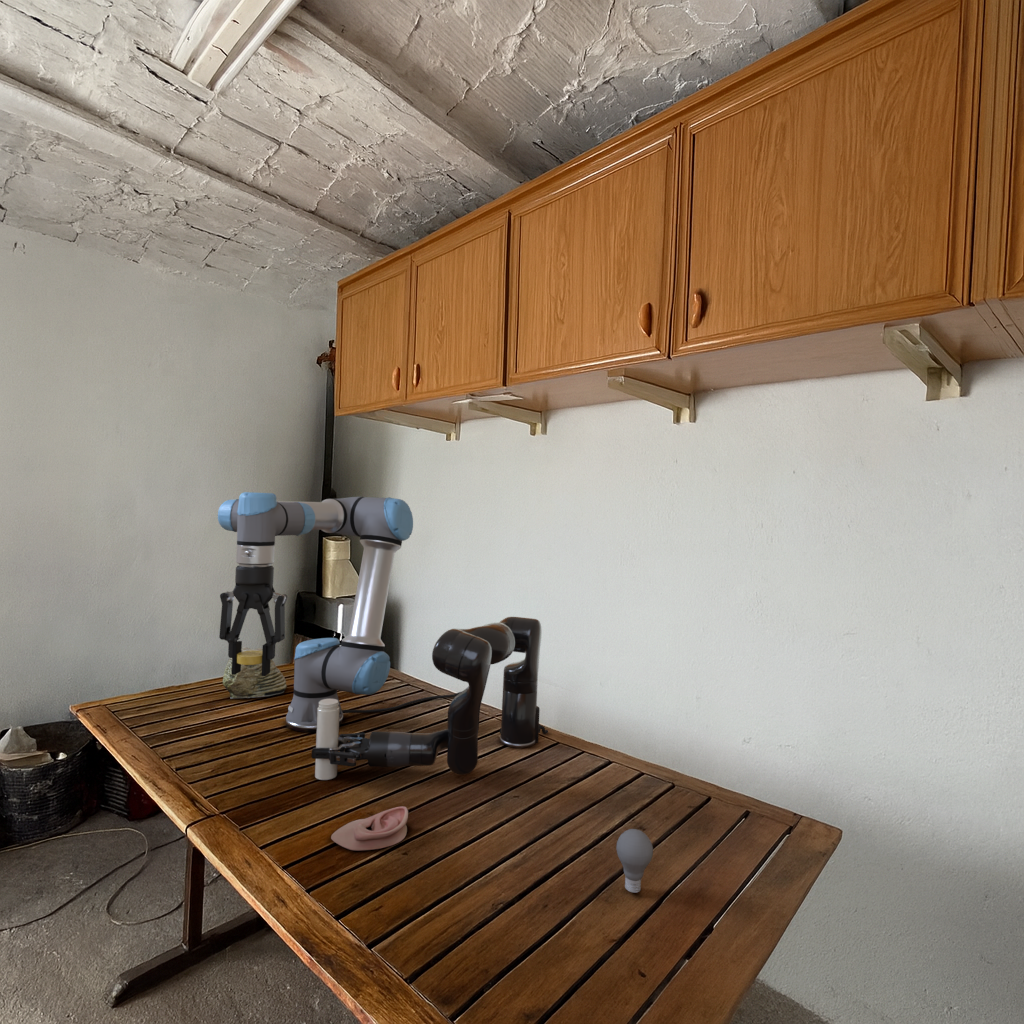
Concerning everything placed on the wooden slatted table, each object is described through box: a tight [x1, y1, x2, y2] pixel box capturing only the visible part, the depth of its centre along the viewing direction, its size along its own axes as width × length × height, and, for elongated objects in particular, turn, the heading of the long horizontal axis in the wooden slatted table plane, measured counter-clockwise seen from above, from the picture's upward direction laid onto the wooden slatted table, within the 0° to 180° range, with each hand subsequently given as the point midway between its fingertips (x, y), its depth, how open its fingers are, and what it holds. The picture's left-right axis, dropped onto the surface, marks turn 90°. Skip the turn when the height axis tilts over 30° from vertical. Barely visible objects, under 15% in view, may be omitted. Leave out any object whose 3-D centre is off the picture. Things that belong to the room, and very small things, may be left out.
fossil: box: [222, 646, 288, 699], centre depth 198 cm, size 9×18×15 cm, turn 132°
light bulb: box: [615, 828, 654, 894], centre depth 106 cm, size 6×6×10 cm
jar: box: [314, 699, 340, 781], centre depth 144 cm, size 5×5×17 cm
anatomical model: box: [330, 805, 409, 852], centre depth 119 cm, size 13×4×12 cm
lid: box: [237, 650, 262, 665], centre depth 135 cm, size 6×6×2 cm
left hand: (251, 673), depth 135 cm, fingers closed on lid, 6 cm apart
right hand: (315, 748), depth 144 cm, fingers closed on jar, 5 cm apart
